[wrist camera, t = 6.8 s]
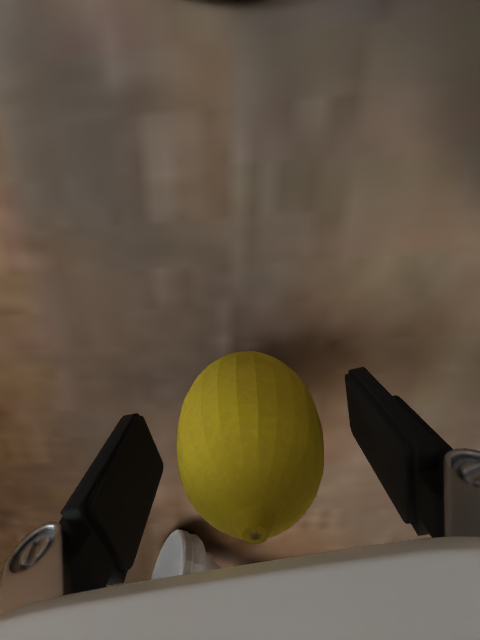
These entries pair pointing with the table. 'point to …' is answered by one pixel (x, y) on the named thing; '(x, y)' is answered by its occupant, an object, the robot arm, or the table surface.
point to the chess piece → (183, 556)
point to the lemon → (250, 446)
